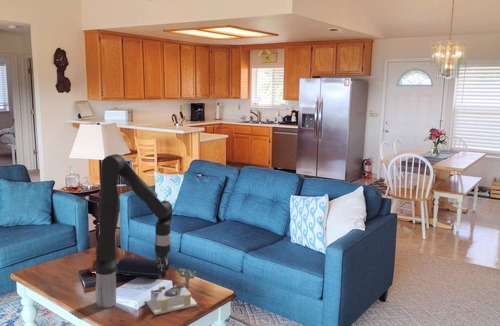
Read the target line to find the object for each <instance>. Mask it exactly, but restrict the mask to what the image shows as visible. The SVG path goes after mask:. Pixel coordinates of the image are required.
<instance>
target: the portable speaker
mask: <svg viewBox="0 0 500 326" xmlns="http://www.w3.org/2000/svg"><path fill="white" fill-rule="evenodd" d="M116 270H117V272H119V273H123V274H130V275H133V276H132V277H138V278H139V277H140V278H146V279H147V278H149V279H157V278H159V277H160V275H159V268H158V265H157V260H156V259H148V258H136V257H123V258H121V259H120V260H119V261H118V263H117V265H116ZM119 273H118V274H119Z"/></svg>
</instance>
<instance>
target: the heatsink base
mask: <svg viewBox="0 0 500 326" xmlns="http://www.w3.org/2000/svg"><path fill="white" fill-rule="evenodd" d="M181 285H182V283H181ZM177 286H178V285H173V288H172V289H167V290H161V291H159V292H155V293H154V291H155V290H154V289H151V290H150V298H151V299H150V300H148V301H147V303H146V304H147V306H148V307H149V309H150V311H151V312H152V314H154V316H156V315H160V314H165V313H169V312H173V311H178V310H179V311H180V310H183V309H187V308H188V309H189V308H192V307H196V306H197V307H198V303H197V302H196V300H195V299H194V298H193V297H192V294H191V292H190V290H188V288H186V286H182V287H180V288H177Z"/></svg>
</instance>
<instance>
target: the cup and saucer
mask: <svg viewBox="0 0 500 326" xmlns="http://www.w3.org/2000/svg"><path fill="white" fill-rule="evenodd" d="M92 268H93V270H96V259H95V260H93V261H92V266H89V268H88V270H89V269H92Z"/></svg>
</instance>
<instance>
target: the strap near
mask: <svg viewBox="0 0 500 326" xmlns="http://www.w3.org/2000/svg"><path fill="white" fill-rule="evenodd" d="M161 290H162V291H165V290H166V286H159V287H158V289H155V290H154V293H158V292H159V291H161Z"/></svg>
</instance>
